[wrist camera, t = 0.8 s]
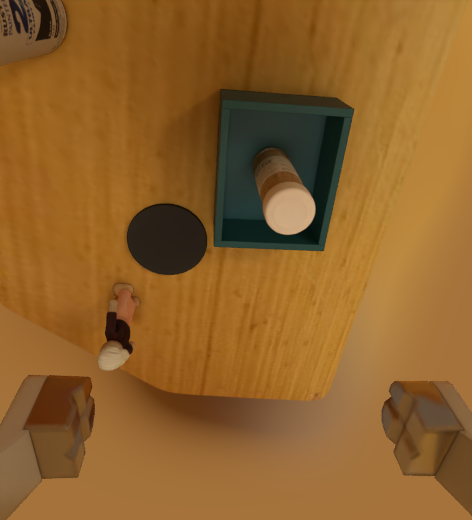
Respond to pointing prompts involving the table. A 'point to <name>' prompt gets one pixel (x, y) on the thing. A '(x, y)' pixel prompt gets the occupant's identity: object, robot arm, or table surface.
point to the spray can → (30, 28)
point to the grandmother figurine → (118, 328)
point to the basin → (297, 149)
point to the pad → (167, 239)
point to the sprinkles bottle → (282, 192)
